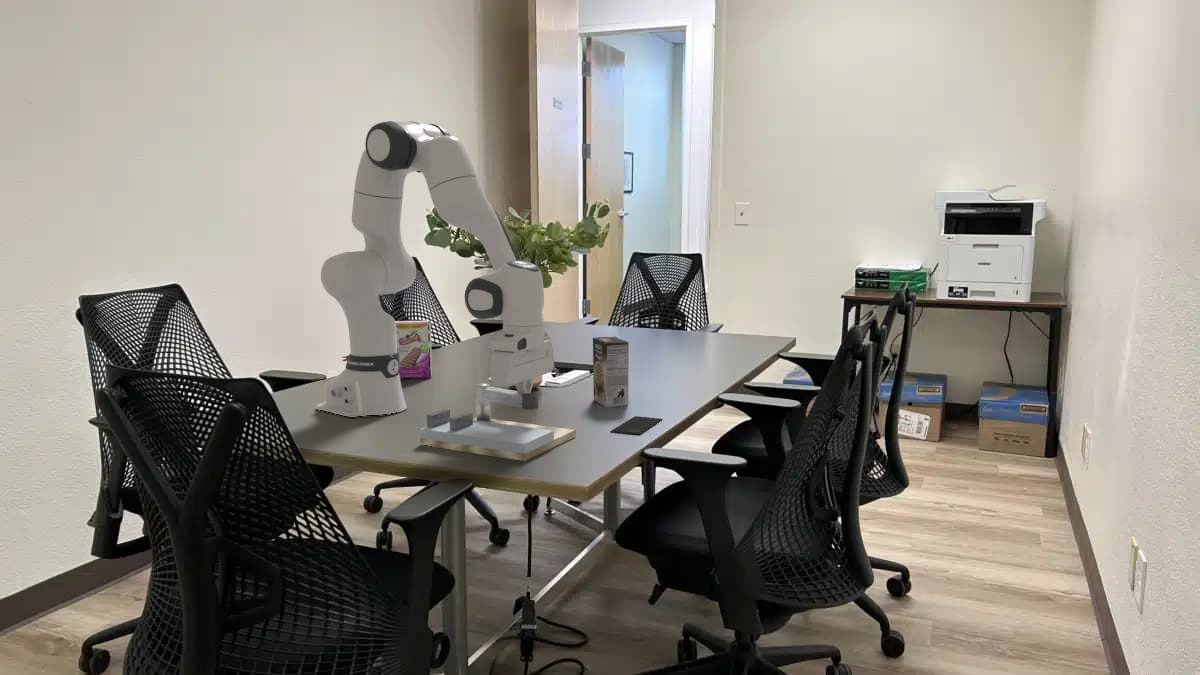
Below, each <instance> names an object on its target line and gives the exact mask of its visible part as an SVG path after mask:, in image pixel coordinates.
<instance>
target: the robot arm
mask: <svg viewBox="0 0 1200 675" xmlns="http://www.w3.org/2000/svg"><path fill="white" fill-rule="evenodd" d="M364 146H365V149H364V150H363V152H362V154H361V158H360V159H359V164H358V167H357V170H356V176H355V182H354V192H353V202H352V212H351V223H352V225H353V227H354V228H355V229H356V230H357V231H358V232H359V233H361V234H362V236H363V238H364V245H365V246H364V250H359V251H354V250H353V251H345V252H342V253H338V254H336V255H333V256H330V257H328V258H327V259H326V260H325V261H324V262H323V264H322V266H321V270H320V281H321V283H322V286H323V288H324V291H325V292H326V293H327V294H328V295H330V296H331V297H332V298H334V300H335V301H337V303H338V304H339V305H340V307H341V308H342V311H343V313H344V316H345V318H346V322H347V325H348V326H347V327H348V335H349V336H348V337H349V338H348V339H349V348H350V351H349V352H350V353H349V354H348V355H345V356H342V357H341V358H342V360H341V361H342V362H346V364H345V369H344V370H342V371H341V372H340V373H339V374H338V375H337V376H336V377H334V378H333V379H332V380H331V381H330V382H329V383H328V384H327V386H326V390H325V400H324V401H322V402H320V403H317V404H316V406H315V409H316V408H319V409H323V410H327V411H330V412H335V413H339V414H343V415H347V416H361V415H379V416H383V415H382V414H387V415H392V414H391V413H393V414H396V412H397V413H400V412H403V411H404V410H406V409H407V407H408V406H407V404H406V400H405V397H404V396H405V395H404V392H403V388H402V382H401V379H400V375H399V367H400V356H399V352H398V351H397V333H396V322H395V321H396V320H395V319H394V316H392V315H390V314H389V313H388V312H386V311H384V309H383V308H382V304H381V301H380V298H379V297H380V296H382V295H390V294H391V295H392V294H396V293H399V292H401V291H404V290H405V289H407V288H409V287H411V286H412V285H413V284H414V282H415V280H416V279H417V278H416V277H417V267H416V263H415V260H414V258H413V257H412V256H411V254H410V253H409V252H407V250H406V248H405V246H404V243H403V239H402V233H401V218H402V208H403V207H402V206H403V197H404V187H405V179H406V177H407V176H408V174H410V173H413V172H416V173H420V174H422V175H423V176H424V179H425V181H426V185H427V189H428V191H429V195H430V197H431V201H432V205H433V206H434V209H435V211H436V212H437V214H438V216H439V217H440V218H441V220H443V221H444V222H446V223H447V224H448V225H450V226H453V227H455V228H459V229H460V230H463V231H465V232H467V233H469V234H471V235H472V236H474V237H475V238H476V239H477V240H478V241H479V242H480V243H481V244H482V246H483V248H484V250H485V253H486V254H487V256H488V259H489V260H490V263H491V266H492V268H493V269H494V271H493V272H491V273H488V274H485V275H482V276H479V277H476V278H473V279H472V280H470V281H469V282H468V283H467V286H466V288H465V291H464V303H465V306H466V309H467V311H468V313H469V314H470V315H471V316H472V317H473V318H475V319H478V320H484V321H485V320H486V321H488V320H489V321H490V320H494V319H502V329H501V330H500V331H499V332H498V333H497V334H496V335H495V336H494V337H493V338H492V339H491V340H490V341H489V348H490V350H492V353H491V355H490V376H491V378H490V380H491V383H492V384H493V387H497V388H509V387H512V386H515V387H516V391H518V392H524V393H532V389H533V385H534V382H535V381H534V379H535V378H538V377H540V376H543V375H546V374H549V373H552V372H553V371H554V367H555V358H554V357H555V356H554V346H553V344H552V342H551V341H550V340H551V339H550V335H549V334H548V333H547V332H546V331H545V319H544V316H543V308H544V304H545V291H544V281H543V280H544V279H543V275H542V272H541V270H540V267H539V266H538V265H536V264H534V263H532V262H528V261H521V260H520V259H519V257H518V253H517V252H516V250H515V247H514V245H513V242H512V240H511V238H510V236H509V234H508V232H507V230H506V228H505V225H504V224H503V222H502V220H501V217H500V215H499V214H498V213H497V211H496V210H495V208H493V206H492V204H490V202H489V200H488V198H487V197H486V195H485V192H484V191H483V187H482V186H481V182H480V181H479V178H478V174H477V172H476V171H477V170H476V169H475V167H474V164H473V162H472V160H471V158H470V155H469V154H468V152H467V150H466V148H465V146H464V144H463V143H462V141H461V140H460V139H459V138H457V137H455V136H453V135H451V133H450V132H449V131H448V130H447V129H445V128H443V126H439V125H438V124H434V123H425V122H421V121H420V122H419V121H413V120H411V121H410V120H408V121H392V120H388V121H382V122H379V123H376V124H374V125H373V126H371V128H369V130H368V132H367V134H366V137H365V144H364Z"/></svg>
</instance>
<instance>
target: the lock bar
mask: <svg viewBox="0 0 1200 675" xmlns="http://www.w3.org/2000/svg"><path fill="white" fill-rule="evenodd" d="M490 385H491V384H490V383H488V382H487V383H483V382H482V383H477V384H475V385H474V387H475V388H474V390H475V391H474V392H475V393H474V394H475V418H476V420H477V421H485V422H489V421H491V419H492V418H491V417H492V416H491V403H496V404H499V405H507V406H511V407H518V408H521V409H523V410H530V411H531V410H537V409H538V408H539V398H538V397H539V394H537V393H535V392H531V393H524V392H518V390H512V389H507V388H506V389H505V388H503V387H497V386H490Z"/></svg>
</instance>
